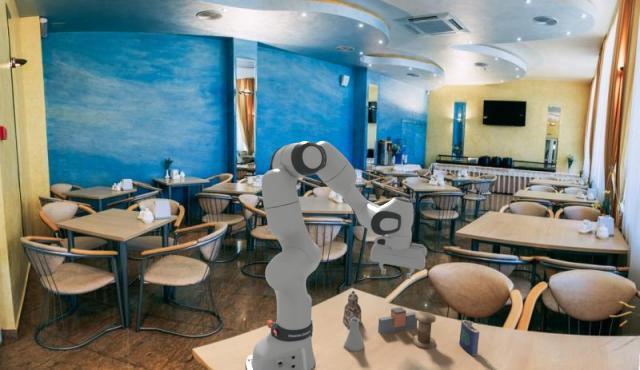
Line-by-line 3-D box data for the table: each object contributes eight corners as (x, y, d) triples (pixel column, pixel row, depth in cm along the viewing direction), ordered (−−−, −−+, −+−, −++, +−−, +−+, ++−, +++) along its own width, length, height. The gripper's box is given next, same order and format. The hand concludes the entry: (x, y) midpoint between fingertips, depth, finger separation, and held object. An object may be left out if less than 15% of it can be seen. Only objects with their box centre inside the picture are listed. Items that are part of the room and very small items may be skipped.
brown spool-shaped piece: (420, 350, 144) (422, 323, 143) (408, 338, 152) (409, 313, 150) (439, 346, 147) (441, 319, 146) (426, 335, 155) (428, 309, 153)
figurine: (341, 325, 161) (342, 295, 159) (344, 316, 167) (345, 288, 165) (359, 327, 159) (361, 298, 157) (362, 319, 166) (363, 290, 164)
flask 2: (478, 356, 142) (481, 327, 140) (471, 357, 141) (473, 328, 139) (463, 342, 150) (466, 314, 149) (456, 343, 150) (458, 315, 148)
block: (394, 327, 156) (395, 312, 155) (390, 323, 159) (391, 308, 158) (405, 325, 157) (406, 310, 156) (400, 321, 160) (401, 307, 159)
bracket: (380, 334, 154) (381, 320, 154) (378, 331, 156) (378, 318, 155) (416, 327, 160) (417, 313, 159) (414, 325, 162) (415, 311, 161)
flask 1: (340, 348, 144) (341, 321, 143) (348, 338, 151) (349, 313, 149) (359, 354, 141) (360, 326, 140) (367, 344, 148) (368, 317, 146)
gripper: (428, 242, 153) (425, 278, 155) (374, 234, 160) (371, 268, 162) (426, 247, 147) (422, 284, 149) (370, 238, 154) (367, 274, 157)
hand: (395, 276), depth 156 cm, fingers open, 8 cm apart
